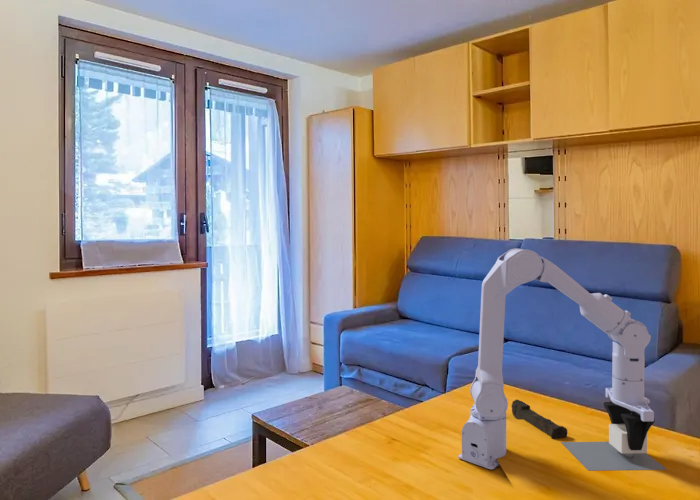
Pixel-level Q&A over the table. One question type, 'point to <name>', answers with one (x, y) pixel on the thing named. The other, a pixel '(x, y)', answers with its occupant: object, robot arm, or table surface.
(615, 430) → the hollow square block
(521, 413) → the hand tool
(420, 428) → the table surface
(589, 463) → the plate
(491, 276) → the robot arm
